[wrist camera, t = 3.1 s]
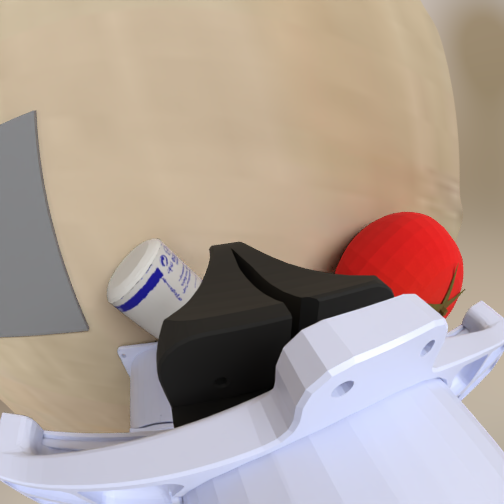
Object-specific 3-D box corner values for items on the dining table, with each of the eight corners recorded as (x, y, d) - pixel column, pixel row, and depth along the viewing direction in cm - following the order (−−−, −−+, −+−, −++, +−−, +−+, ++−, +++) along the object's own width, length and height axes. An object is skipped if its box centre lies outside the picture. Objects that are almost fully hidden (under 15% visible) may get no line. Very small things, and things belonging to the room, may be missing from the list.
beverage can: (121, 295, 14) (267, 395, 21) (168, 225, 17) (286, 339, 25) (93, 299, 17) (222, 386, 25) (131, 243, 21) (241, 338, 28)
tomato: (420, 242, 29) (488, 287, 19) (350, 323, 31) (404, 387, 21) (382, 171, 23) (478, 208, 14) (290, 274, 25) (356, 358, 16)
